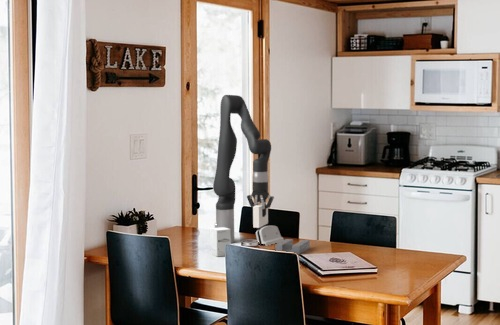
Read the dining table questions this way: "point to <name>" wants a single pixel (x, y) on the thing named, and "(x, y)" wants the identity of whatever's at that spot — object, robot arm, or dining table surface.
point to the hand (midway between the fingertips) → (260, 216)
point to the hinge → (269, 235)
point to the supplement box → (219, 240)
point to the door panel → (259, 216)
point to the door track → (293, 246)
